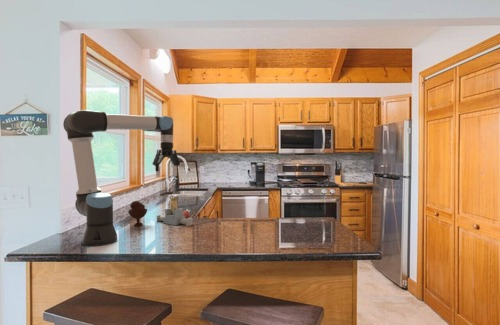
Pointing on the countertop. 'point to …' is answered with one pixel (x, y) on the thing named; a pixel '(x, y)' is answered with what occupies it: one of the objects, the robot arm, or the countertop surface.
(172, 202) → the brass nipple
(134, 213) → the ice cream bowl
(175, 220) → the valve
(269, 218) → the countertop surface
